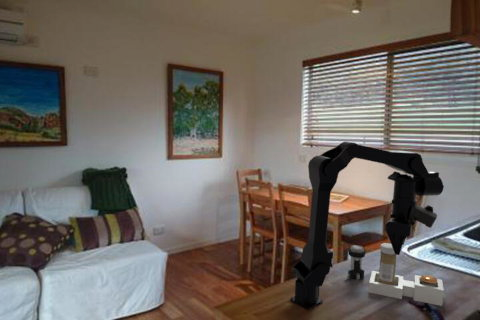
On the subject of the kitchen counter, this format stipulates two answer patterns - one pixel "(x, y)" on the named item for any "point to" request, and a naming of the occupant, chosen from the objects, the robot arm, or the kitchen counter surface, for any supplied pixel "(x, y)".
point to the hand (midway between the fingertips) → (399, 249)
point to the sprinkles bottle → (387, 264)
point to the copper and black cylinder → (428, 280)
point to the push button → (356, 262)
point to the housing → (408, 289)
